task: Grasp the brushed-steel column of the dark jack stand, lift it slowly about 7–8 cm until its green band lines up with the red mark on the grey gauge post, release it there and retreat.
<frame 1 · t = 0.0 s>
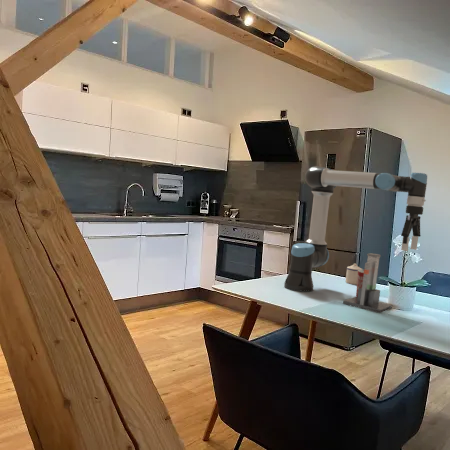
hand: (409, 250, 218), 28 cm above the table, fingers open, 13 cm apart
column: (370, 278, 215), point 13 cm above the table, slide at 0.0 cm
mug: (362, 297, 237), on the table
teacup with lid: (351, 282, 274), on the table
stand: (367, 305, 216), on the table
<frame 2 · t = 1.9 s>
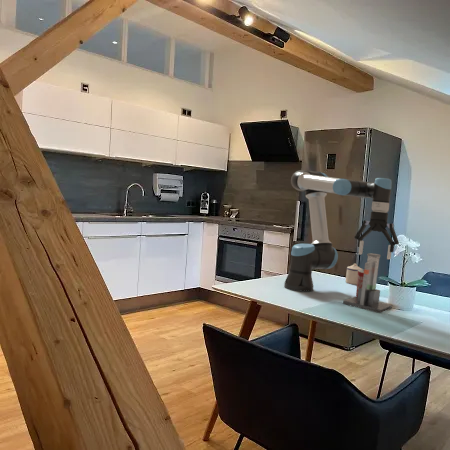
hand: (374, 256, 214), 24 cm above the table, fingers open, 13 cm apart
nothing on the table moved.
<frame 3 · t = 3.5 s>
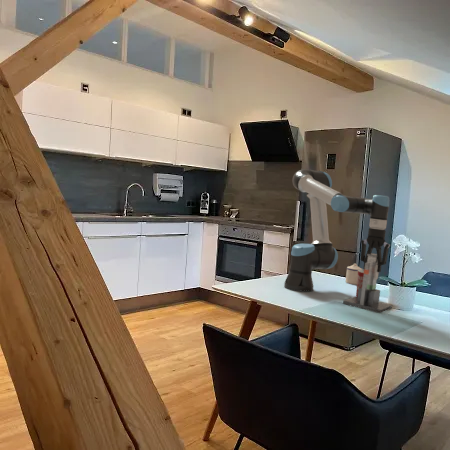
hand: (371, 277, 215), 14 cm above the table, fingers closed on column, 4 cm apart
column: (370, 278, 215), point 13 cm above the table, slide at 0.0 cm, touching gripper
everything else where it was.
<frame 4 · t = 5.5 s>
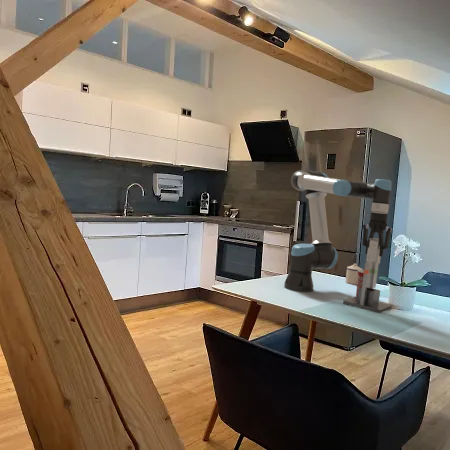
hand: (373, 262, 215), 21 cm above the table, fingers closed on column, 4 cm apart
column: (372, 262, 215), point 21 cm above the table, slide at 7.4 cm, touching gripper
everything else where it was.
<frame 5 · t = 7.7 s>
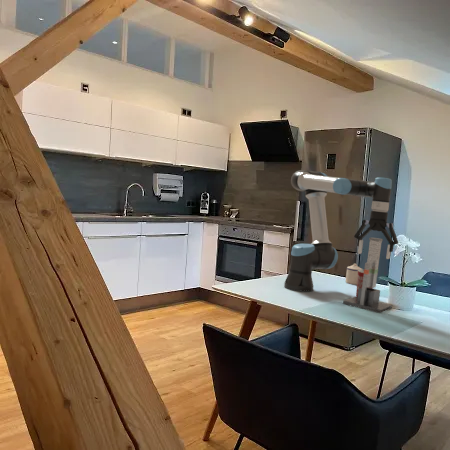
hand: (373, 256, 215), 24 cm above the table, fingers open, 13 cm apart
column: (372, 262, 215), point 21 cm above the table, slide at 7.5 cm
everything else where it was.
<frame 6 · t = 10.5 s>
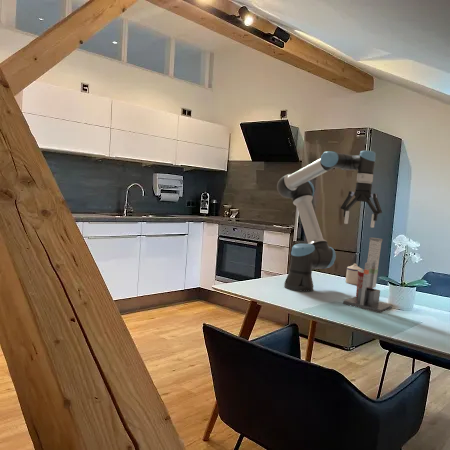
hand: (358, 225, 226), 37 cm above the table, fingers open, 13 cm apart
nothing on the table moved.
at the end: column slide at 7.5 cm; the gripper is holding nothing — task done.
